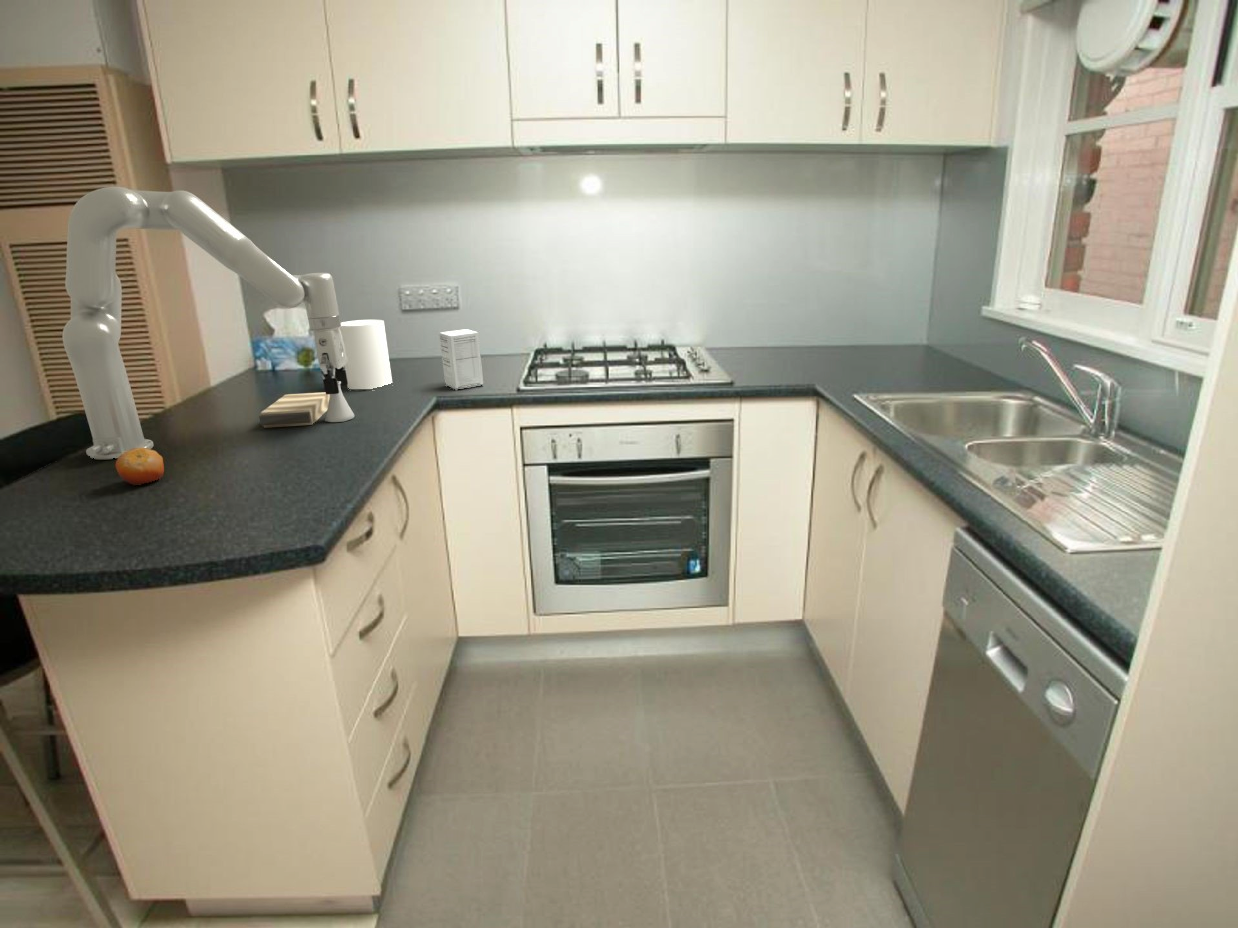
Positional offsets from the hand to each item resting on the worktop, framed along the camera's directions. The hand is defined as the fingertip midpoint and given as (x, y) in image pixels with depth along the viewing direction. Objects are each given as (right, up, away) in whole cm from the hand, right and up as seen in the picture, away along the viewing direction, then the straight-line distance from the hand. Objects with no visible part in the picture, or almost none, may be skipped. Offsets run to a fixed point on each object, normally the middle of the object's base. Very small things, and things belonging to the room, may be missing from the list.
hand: (337, 389), depth 185 cm
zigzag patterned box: (-13, -7, +7) cm, 16 cm away
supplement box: (+25, +5, +36) cm, 44 cm away
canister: (-5, +5, +40) cm, 41 cm away
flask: (0, -8, +3) cm, 8 cm away
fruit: (-23, -24, -40) cm, 52 cm away
